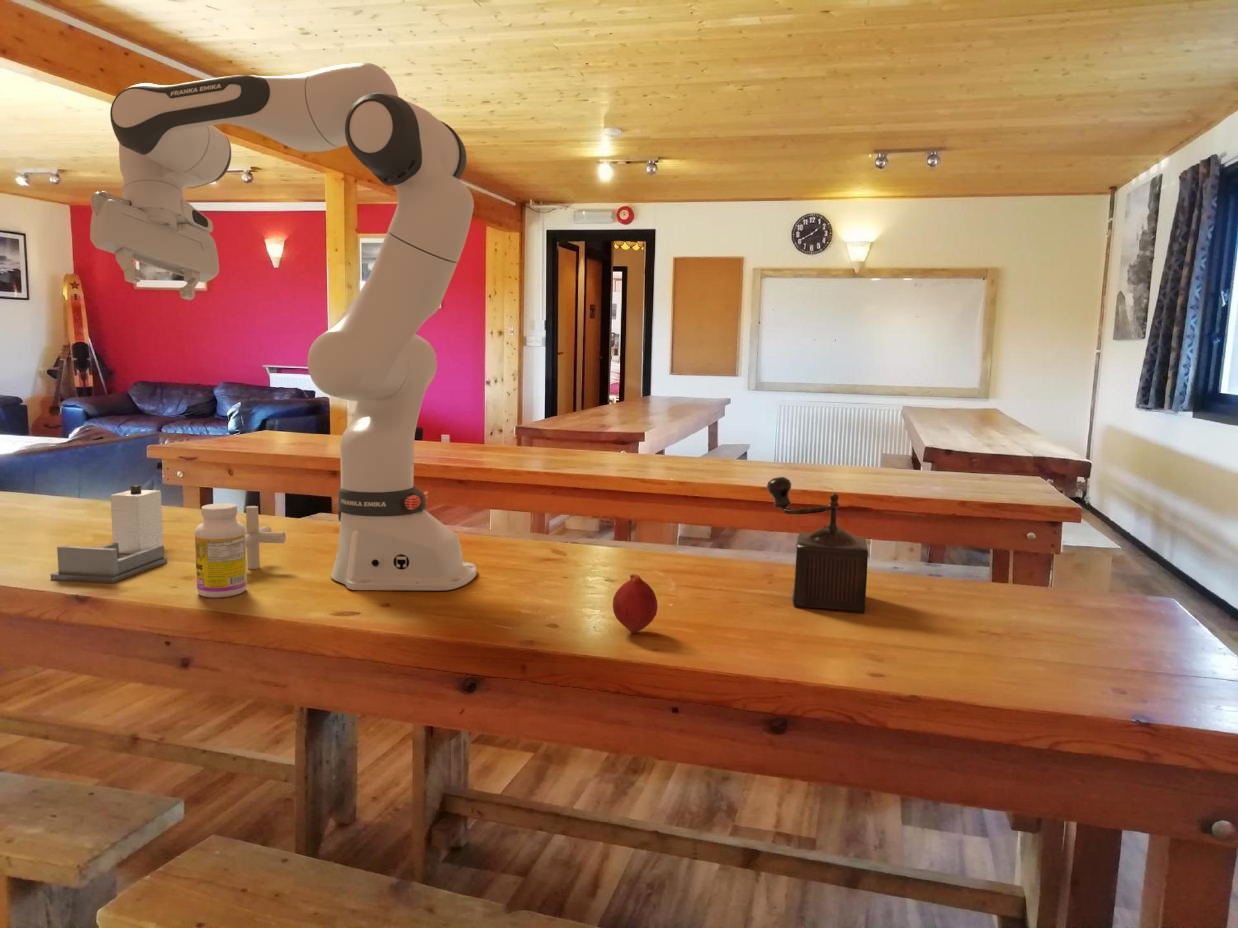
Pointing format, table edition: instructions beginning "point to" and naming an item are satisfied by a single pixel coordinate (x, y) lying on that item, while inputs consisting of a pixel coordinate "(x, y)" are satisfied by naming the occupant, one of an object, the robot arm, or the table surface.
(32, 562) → the table surface
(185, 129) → the robot arm
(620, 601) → the onion
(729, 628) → the table surface
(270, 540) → the pipe connector
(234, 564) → the supplement bottle
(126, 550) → the block
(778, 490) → the manual coffee grinder
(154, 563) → the tray
